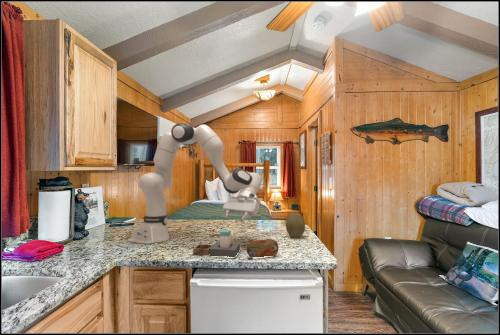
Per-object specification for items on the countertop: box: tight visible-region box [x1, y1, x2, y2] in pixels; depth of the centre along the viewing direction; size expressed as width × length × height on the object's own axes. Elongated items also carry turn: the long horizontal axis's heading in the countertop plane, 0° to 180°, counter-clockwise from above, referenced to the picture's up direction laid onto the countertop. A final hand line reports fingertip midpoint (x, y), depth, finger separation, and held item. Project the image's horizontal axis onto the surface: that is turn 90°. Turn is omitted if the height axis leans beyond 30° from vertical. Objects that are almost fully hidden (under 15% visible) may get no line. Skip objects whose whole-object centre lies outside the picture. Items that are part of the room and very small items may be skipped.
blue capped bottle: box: [219, 229, 232, 248], centre depth 121 cm, size 4×4×11 cm
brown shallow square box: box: [192, 243, 214, 256], centre depth 123 cm, size 8×8×3 cm
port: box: [209, 241, 241, 257], centre depth 121 cm, size 12×12×4 cm
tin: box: [246, 238, 279, 258], centre depth 117 cm, size 15×3×8 cm, turn 106°
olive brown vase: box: [285, 211, 306, 239], centre depth 152 cm, size 11×11×15 cm
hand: (234, 219), depth 127 cm, fingers open, 8 cm apart
